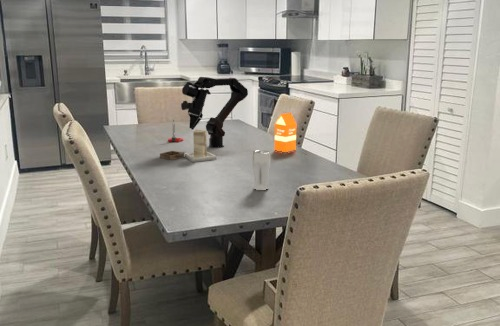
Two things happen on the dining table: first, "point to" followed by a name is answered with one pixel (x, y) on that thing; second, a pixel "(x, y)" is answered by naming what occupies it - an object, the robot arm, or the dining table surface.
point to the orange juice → (285, 133)
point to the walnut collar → (171, 155)
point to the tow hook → (174, 136)
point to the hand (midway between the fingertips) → (191, 128)
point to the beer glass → (261, 169)
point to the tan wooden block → (200, 143)
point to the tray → (193, 159)
